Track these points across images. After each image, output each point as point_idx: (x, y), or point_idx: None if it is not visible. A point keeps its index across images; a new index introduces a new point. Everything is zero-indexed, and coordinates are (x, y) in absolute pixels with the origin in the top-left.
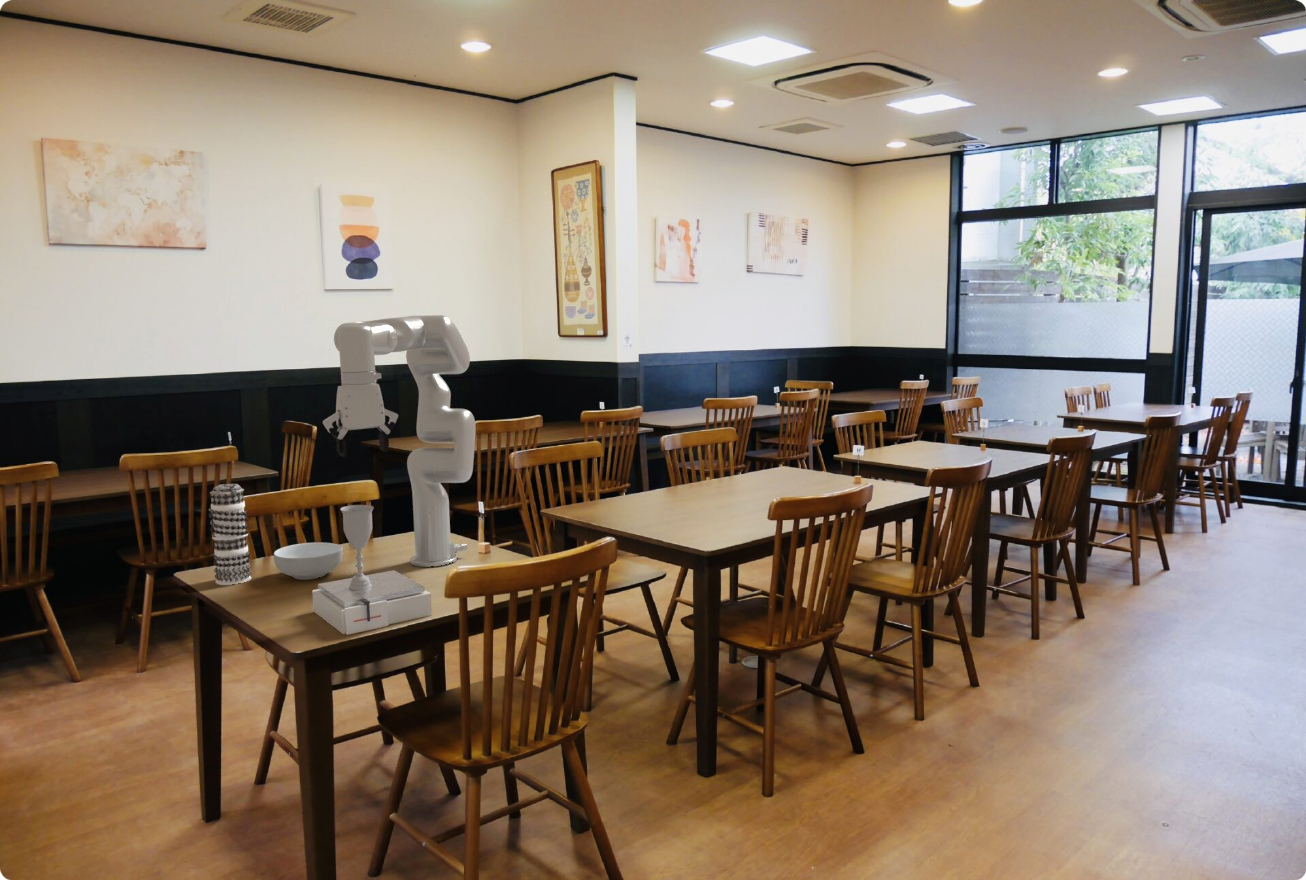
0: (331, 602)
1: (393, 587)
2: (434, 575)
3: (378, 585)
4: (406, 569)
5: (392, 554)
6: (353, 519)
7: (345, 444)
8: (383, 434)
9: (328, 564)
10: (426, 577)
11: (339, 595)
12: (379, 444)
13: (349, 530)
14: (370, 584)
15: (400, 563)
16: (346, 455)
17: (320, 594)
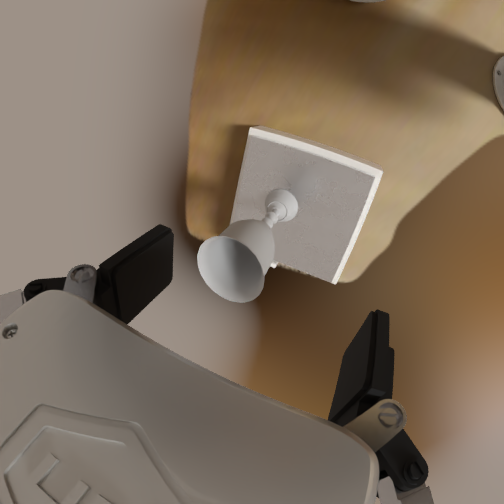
0: (236, 201)
1: (306, 249)
2: (477, 143)
3: (301, 223)
4: (476, 77)
5: (501, 6)
6: (218, 272)
7: (137, 311)
8: (336, 421)
9: (365, 1)
10: (465, 138)
11: (240, 213)
12: (370, 331)
13: (223, 253)
14: (289, 219)
15: (487, 46)
16: (170, 279)
17: (246, 156)
